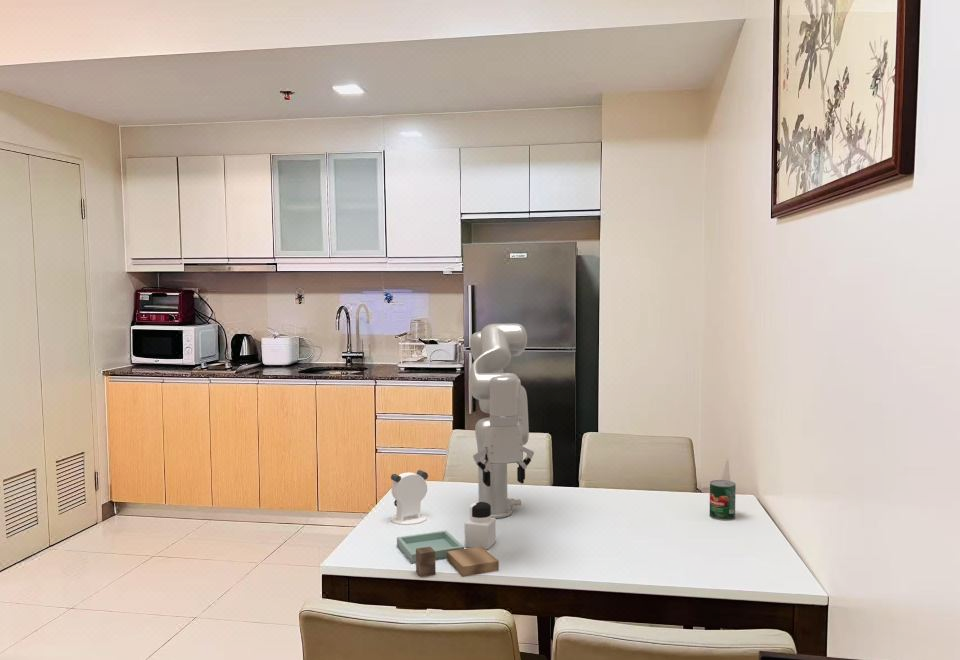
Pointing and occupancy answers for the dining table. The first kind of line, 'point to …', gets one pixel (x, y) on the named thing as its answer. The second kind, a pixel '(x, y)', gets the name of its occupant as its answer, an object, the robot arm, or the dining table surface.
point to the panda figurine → (409, 497)
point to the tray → (428, 544)
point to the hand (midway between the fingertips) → (504, 483)
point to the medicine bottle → (480, 526)
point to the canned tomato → (722, 499)
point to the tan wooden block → (472, 561)
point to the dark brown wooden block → (425, 561)
